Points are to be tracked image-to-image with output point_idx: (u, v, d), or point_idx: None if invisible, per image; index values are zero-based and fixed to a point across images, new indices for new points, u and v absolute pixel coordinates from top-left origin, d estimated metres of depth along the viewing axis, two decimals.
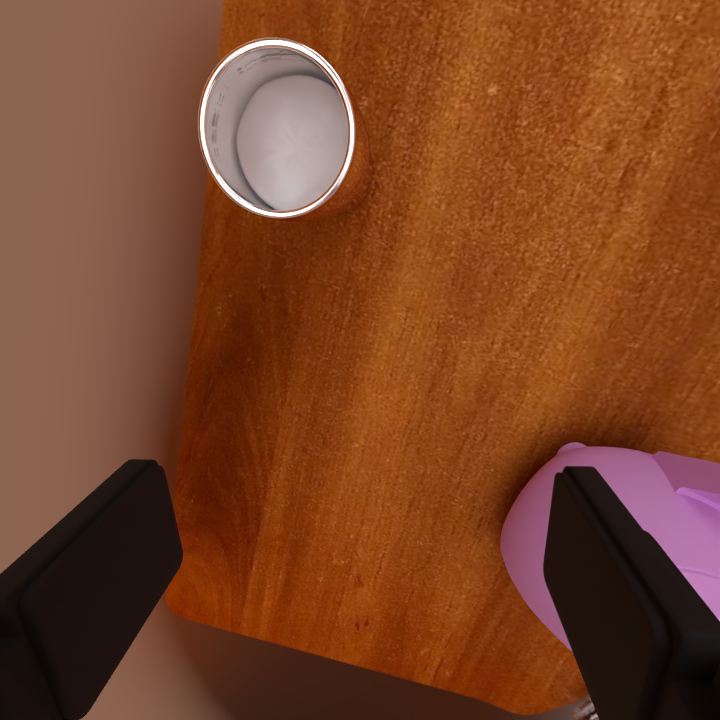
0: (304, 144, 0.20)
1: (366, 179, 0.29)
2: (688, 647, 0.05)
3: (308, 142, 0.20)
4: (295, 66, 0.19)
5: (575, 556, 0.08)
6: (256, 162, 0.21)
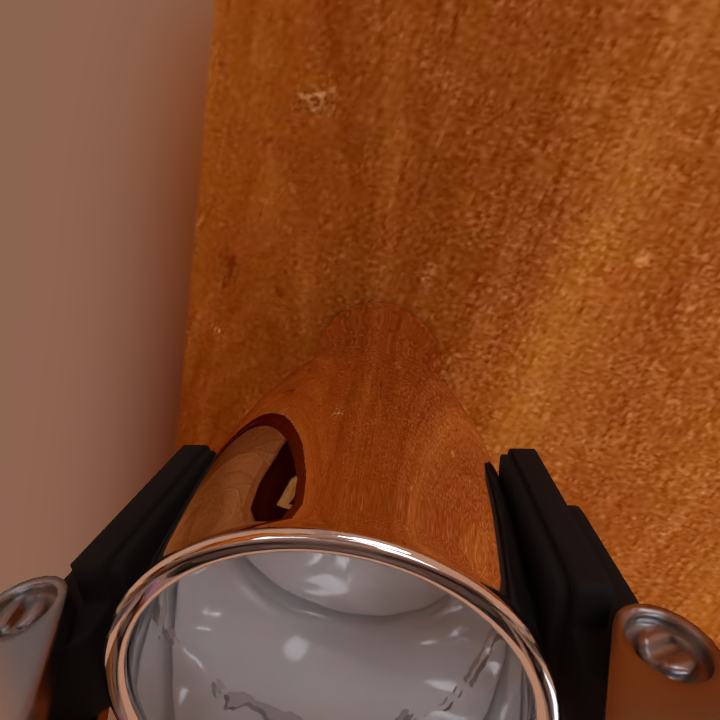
0: None
1: None
2: (583, 597, 0.06)
3: None
4: None
5: None
6: None
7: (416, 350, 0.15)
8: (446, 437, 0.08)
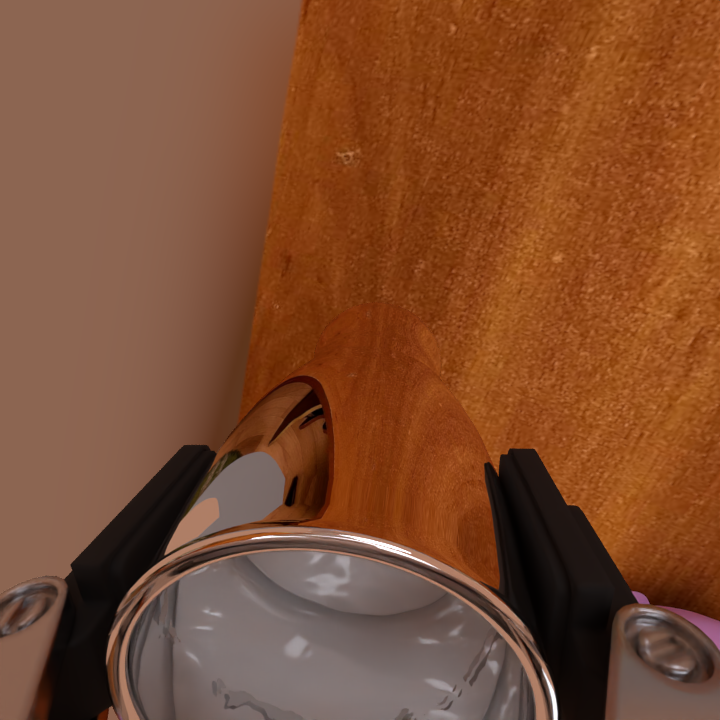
0: None
1: None
2: (583, 597, 0.06)
3: None
4: None
5: None
6: None
7: (416, 350, 0.15)
8: (446, 437, 0.08)
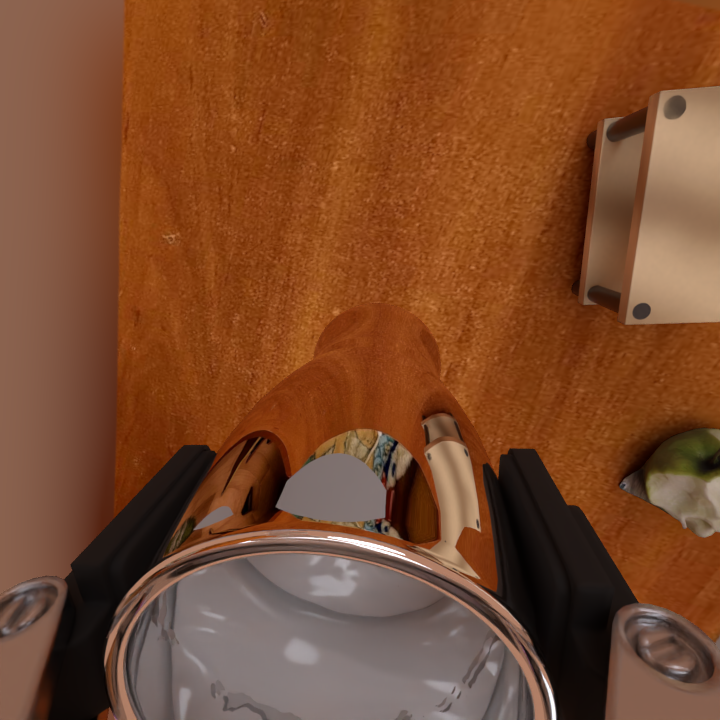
0: None
1: None
2: (583, 597, 0.06)
3: None
4: None
5: None
6: None
7: (415, 351, 0.15)
8: (445, 439, 0.08)
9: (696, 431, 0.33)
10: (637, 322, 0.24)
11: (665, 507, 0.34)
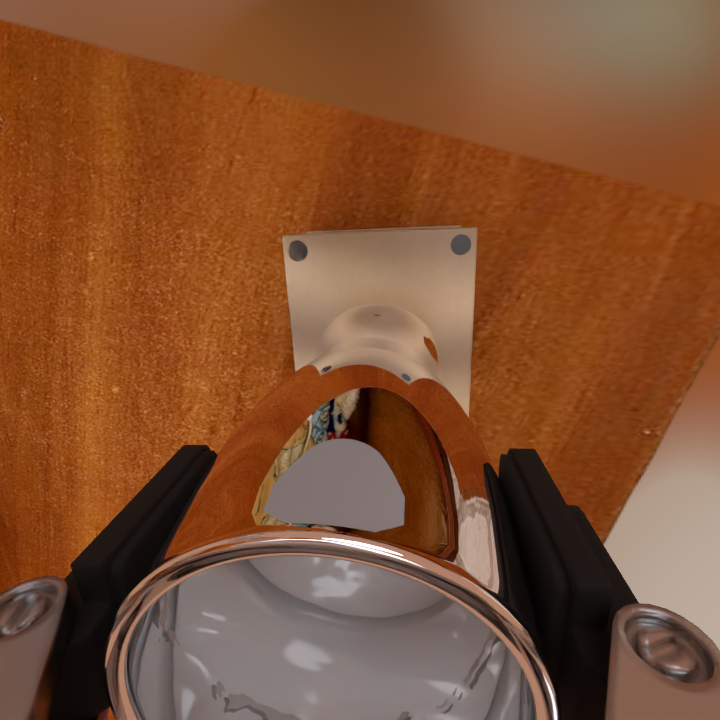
0: None
1: None
2: (583, 597, 0.06)
3: None
4: None
5: None
6: None
7: (416, 351, 0.15)
8: (446, 440, 0.08)
9: None
10: None
11: None
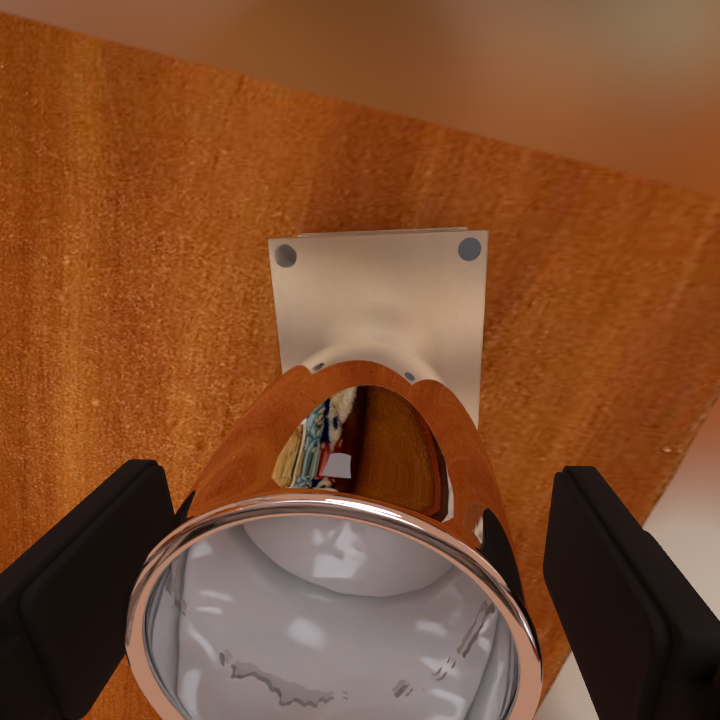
0: None
1: None
2: (688, 647, 0.05)
3: None
4: None
5: (575, 556, 0.08)
6: (267, 518, 0.11)
7: (414, 346, 0.16)
8: (440, 421, 0.08)
9: None
10: None
11: None
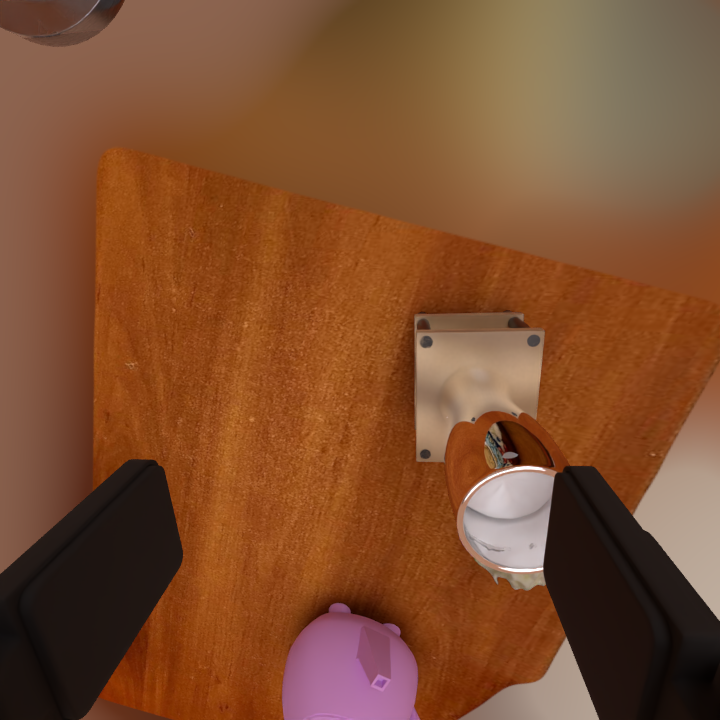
0: (511, 475, 0.24)
1: None
2: (688, 647, 0.05)
3: (515, 474, 0.24)
4: None
5: (575, 556, 0.08)
6: None
7: (510, 399, 0.30)
8: (550, 443, 0.22)
9: None
10: (423, 460, 0.37)
11: (486, 568, 0.47)
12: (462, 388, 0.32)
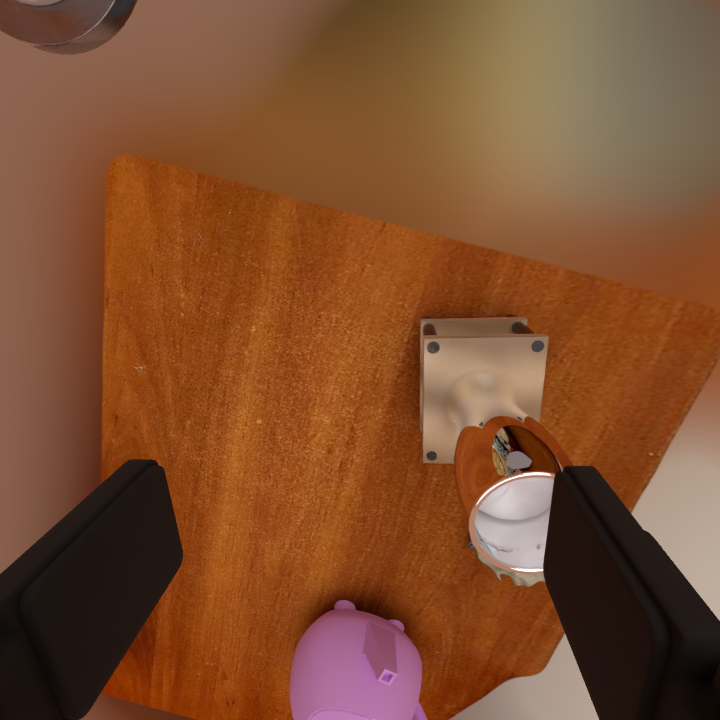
0: None
1: None
2: (688, 647, 0.05)
3: None
4: None
5: (575, 556, 0.08)
6: None
7: (516, 404, 0.31)
8: (557, 449, 0.23)
9: None
10: (430, 462, 0.38)
11: (488, 565, 0.48)
12: (469, 393, 0.33)
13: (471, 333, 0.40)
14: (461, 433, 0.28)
